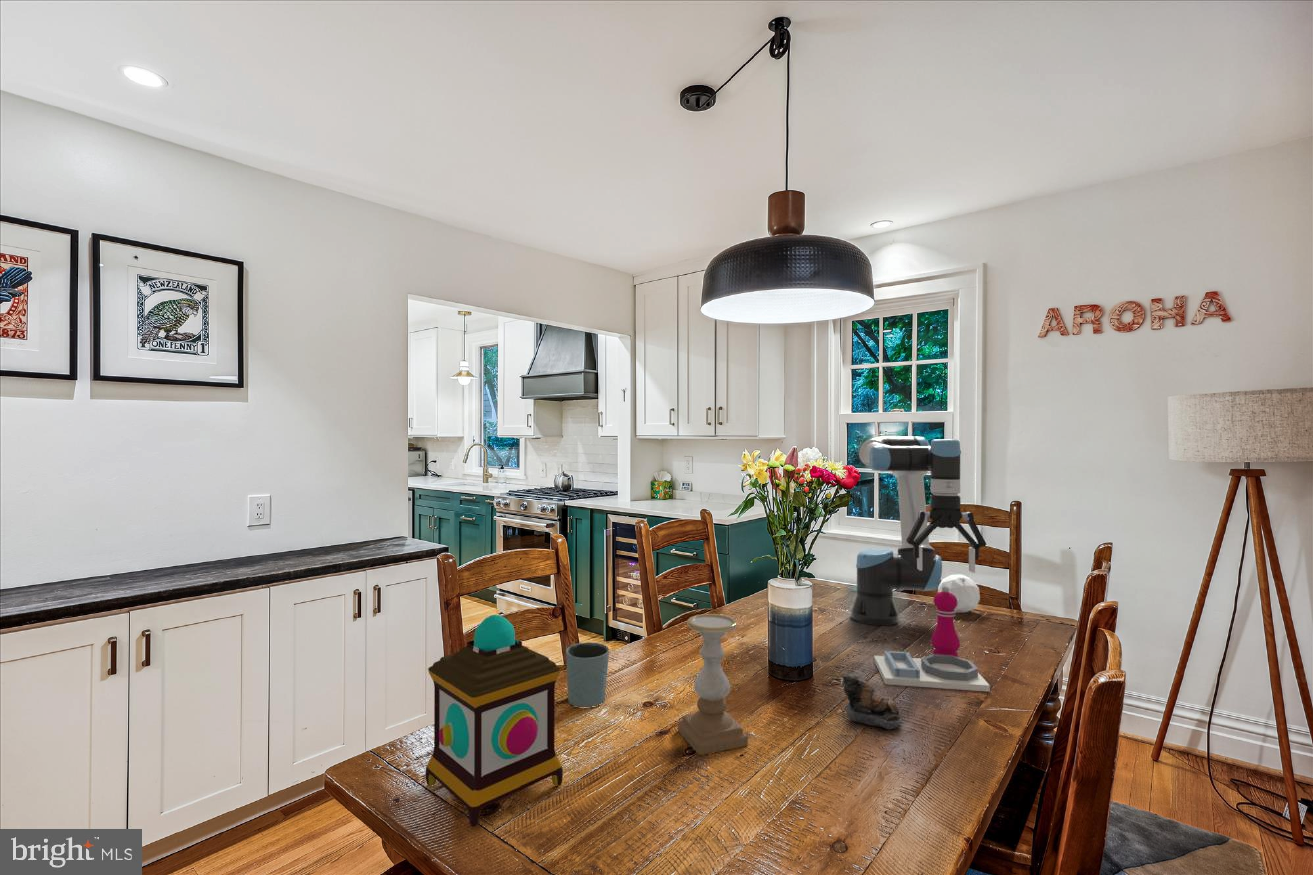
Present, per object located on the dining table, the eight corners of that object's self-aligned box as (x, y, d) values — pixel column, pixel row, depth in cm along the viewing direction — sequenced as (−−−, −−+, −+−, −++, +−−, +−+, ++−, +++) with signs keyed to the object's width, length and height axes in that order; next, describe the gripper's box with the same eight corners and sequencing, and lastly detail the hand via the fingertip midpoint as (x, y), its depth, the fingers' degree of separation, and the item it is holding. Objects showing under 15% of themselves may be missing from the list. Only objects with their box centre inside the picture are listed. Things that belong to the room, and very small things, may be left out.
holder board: (874, 660, 165) (874, 648, 165) (968, 667, 161) (968, 654, 161) (885, 684, 149) (885, 670, 149) (989, 691, 145) (989, 677, 145)
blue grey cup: (583, 688, 146) (583, 639, 146) (617, 697, 141) (618, 646, 141) (556, 704, 138) (556, 652, 138) (591, 714, 132) (591, 660, 133)
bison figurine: (901, 722, 129) (901, 675, 129) (902, 737, 123) (902, 688, 123) (843, 713, 133) (843, 668, 133) (841, 727, 127) (841, 680, 127)
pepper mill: (953, 654, 171) (953, 583, 171) (964, 663, 163) (964, 589, 163) (927, 653, 171) (927, 583, 171) (936, 662, 164) (936, 589, 164)
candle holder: (676, 730, 125) (676, 616, 125) (723, 721, 129) (723, 610, 129) (698, 756, 115) (698, 631, 115) (749, 746, 119) (749, 625, 119)
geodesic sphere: (996, 602, 204) (980, 565, 212) (959, 603, 202) (944, 566, 210) (974, 618, 215) (959, 582, 223) (939, 619, 213) (925, 583, 222)
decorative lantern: (414, 785, 105) (414, 614, 105) (513, 745, 119) (514, 594, 119) (468, 839, 91) (469, 641, 91) (574, 786, 105) (574, 615, 105)
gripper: (901, 494, 166) (901, 571, 166) (999, 496, 162) (999, 575, 161) (895, 492, 173) (895, 566, 173) (988, 494, 169) (989, 569, 169)
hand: (945, 570), depth 167 cm, fingers open, 13 cm apart
